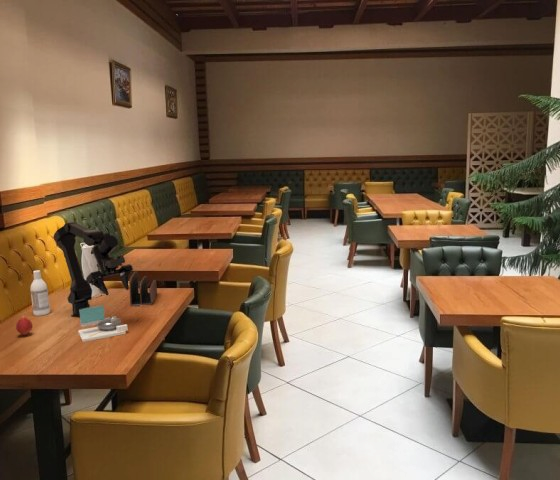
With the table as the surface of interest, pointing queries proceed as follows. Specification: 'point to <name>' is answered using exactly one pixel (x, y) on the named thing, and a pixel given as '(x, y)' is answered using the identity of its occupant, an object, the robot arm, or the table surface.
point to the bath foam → (39, 295)
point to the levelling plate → (101, 333)
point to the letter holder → (141, 291)
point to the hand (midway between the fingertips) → (118, 292)
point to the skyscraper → (89, 265)
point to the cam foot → (98, 318)
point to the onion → (24, 326)
